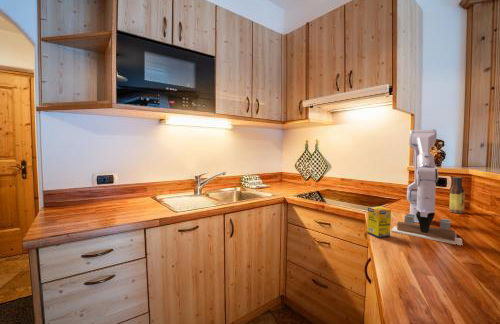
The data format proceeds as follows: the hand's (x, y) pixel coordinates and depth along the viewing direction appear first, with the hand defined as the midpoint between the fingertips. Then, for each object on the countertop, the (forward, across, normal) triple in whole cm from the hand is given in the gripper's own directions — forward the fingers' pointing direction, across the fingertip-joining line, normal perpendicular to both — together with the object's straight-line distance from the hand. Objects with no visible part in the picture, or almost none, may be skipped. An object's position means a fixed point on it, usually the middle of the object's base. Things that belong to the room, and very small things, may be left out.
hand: (424, 231), depth 92 cm
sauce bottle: (+2, -58, +10) cm, 58 cm away
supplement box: (+2, +12, -14) cm, 18 cm away
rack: (+2, -8, 0) cm, 8 cm away
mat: (+2, 0, 0) cm, 2 cm away
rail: (+1, 0, 0) cm, 1 cm away
